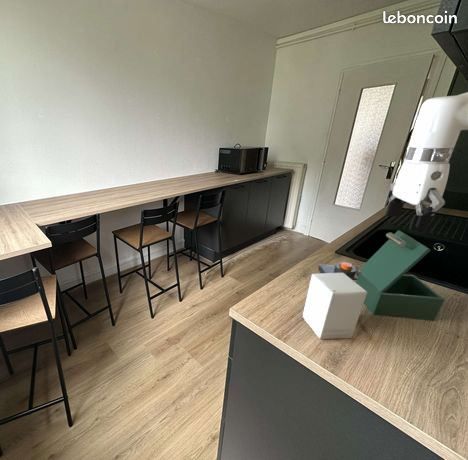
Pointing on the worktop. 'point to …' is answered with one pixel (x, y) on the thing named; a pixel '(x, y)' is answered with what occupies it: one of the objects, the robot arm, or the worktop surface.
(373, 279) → the green box lid
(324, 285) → the white product box
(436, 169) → the robot arm
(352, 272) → the control block
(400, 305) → the green lidded box
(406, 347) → the worktop surface
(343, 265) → the button
